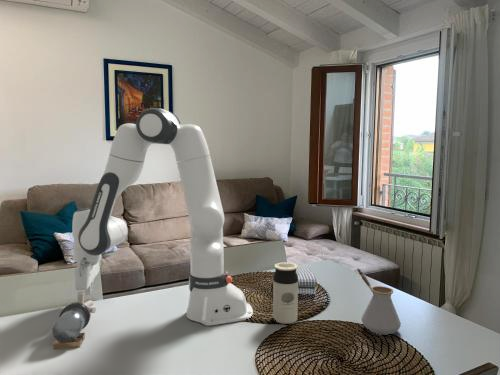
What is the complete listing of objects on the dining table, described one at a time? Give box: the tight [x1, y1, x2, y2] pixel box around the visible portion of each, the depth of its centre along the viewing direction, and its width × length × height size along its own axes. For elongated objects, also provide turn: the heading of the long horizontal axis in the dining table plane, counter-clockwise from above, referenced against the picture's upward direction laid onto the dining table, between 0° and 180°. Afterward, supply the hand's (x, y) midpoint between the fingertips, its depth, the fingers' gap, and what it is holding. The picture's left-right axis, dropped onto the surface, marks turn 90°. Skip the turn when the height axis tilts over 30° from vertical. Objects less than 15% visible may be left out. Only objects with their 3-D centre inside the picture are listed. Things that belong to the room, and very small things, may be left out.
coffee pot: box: [354, 268, 402, 336], centre depth 124 cm, size 21×12×15 cm, turn 13°
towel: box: [296, 267, 318, 295], centre depth 155 cm, size 15×18×8 cm
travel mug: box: [272, 262, 299, 325], centre depth 126 cm, size 8×8×18 cm
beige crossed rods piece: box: [64, 291, 97, 314], centre depth 123 cm, size 10×10×10 cm
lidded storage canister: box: [51, 301, 92, 350], centre depth 112 cm, size 10×8×9 cm
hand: (88, 293), depth 133 cm, fingers closed
